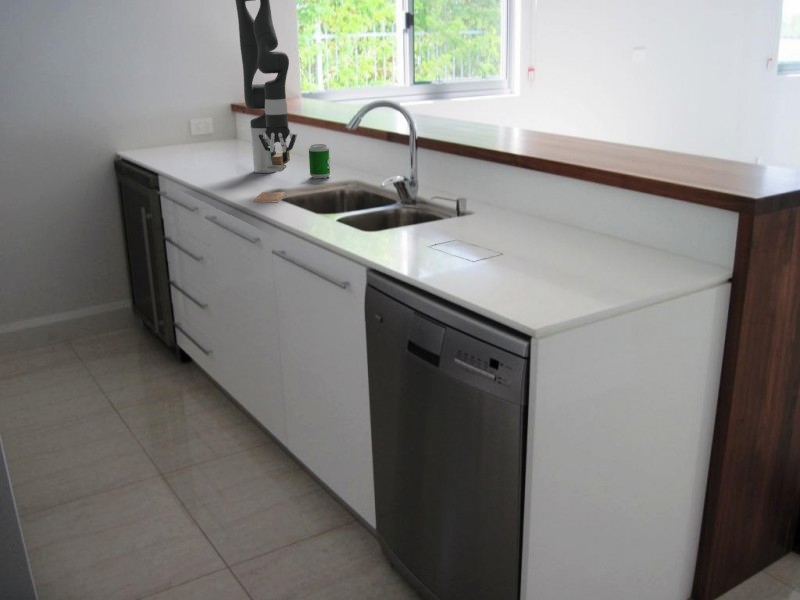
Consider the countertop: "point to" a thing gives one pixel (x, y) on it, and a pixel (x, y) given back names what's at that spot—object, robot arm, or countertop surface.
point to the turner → (276, 163)
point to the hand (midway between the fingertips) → (279, 162)
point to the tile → (269, 196)
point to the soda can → (319, 161)
